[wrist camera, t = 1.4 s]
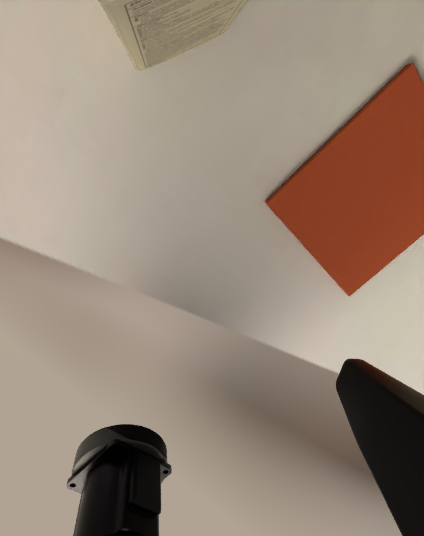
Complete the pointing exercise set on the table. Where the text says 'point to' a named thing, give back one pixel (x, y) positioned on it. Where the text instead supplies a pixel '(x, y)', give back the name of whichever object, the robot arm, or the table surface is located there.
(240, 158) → the table surface
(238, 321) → the table surface
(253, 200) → the table surface
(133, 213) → the table surface
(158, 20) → the box
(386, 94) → the mat
